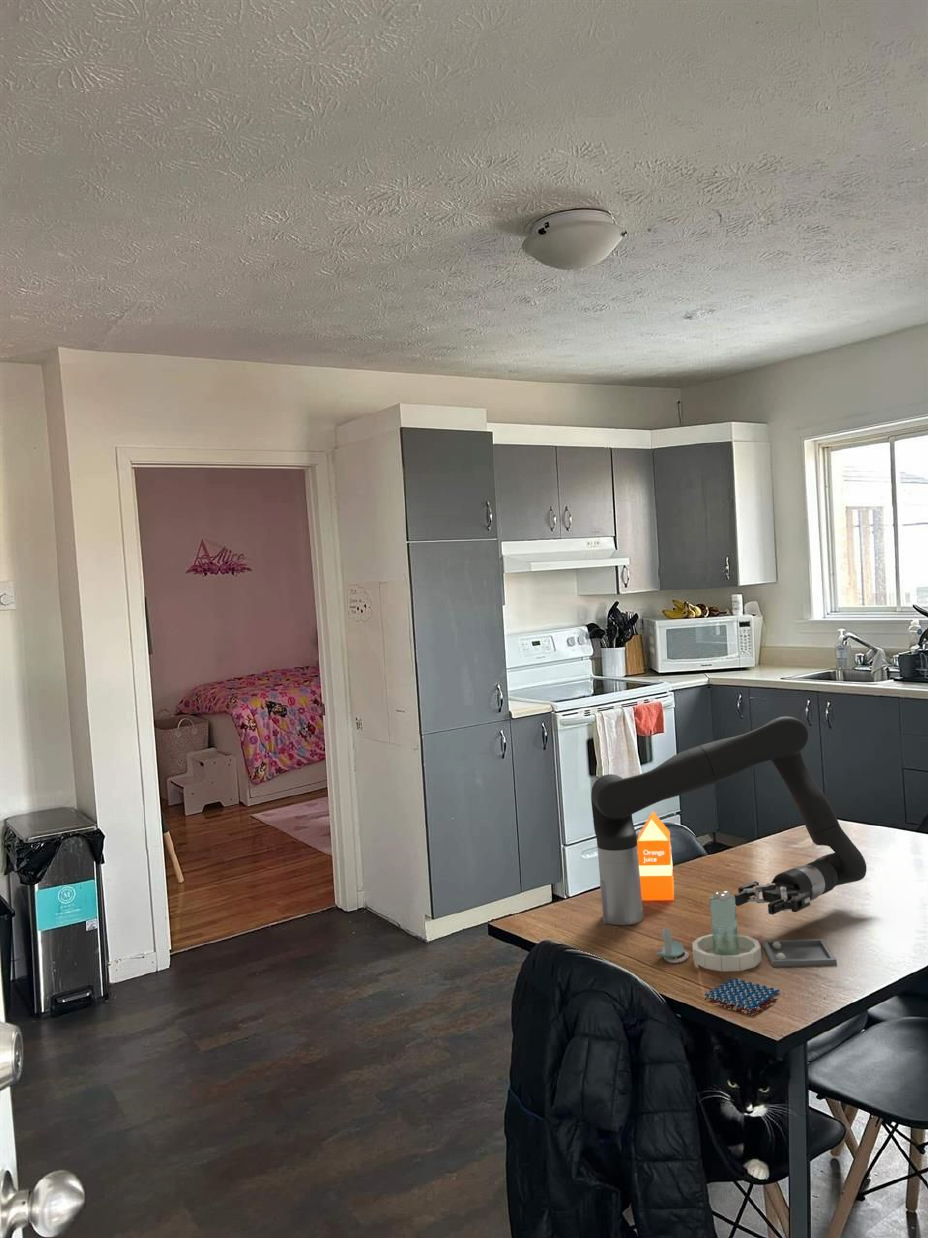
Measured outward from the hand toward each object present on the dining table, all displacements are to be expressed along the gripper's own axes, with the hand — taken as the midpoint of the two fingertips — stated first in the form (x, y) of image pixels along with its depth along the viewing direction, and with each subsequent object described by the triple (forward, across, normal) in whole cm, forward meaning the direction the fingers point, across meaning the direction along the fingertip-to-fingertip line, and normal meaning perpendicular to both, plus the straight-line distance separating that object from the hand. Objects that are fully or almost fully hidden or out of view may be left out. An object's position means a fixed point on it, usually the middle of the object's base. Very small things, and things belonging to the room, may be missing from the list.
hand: (752, 905), depth 198 cm
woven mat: (+21, +13, +10) cm, 27 cm away
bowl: (+9, 0, +9) cm, 13 cm away
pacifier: (+14, -10, +9) cm, 20 cm away
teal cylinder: (+9, 0, +8) cm, 12 cm away
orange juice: (-14, -39, +9) cm, 43 cm away
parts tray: (-1, +10, +9) cm, 13 cm away
